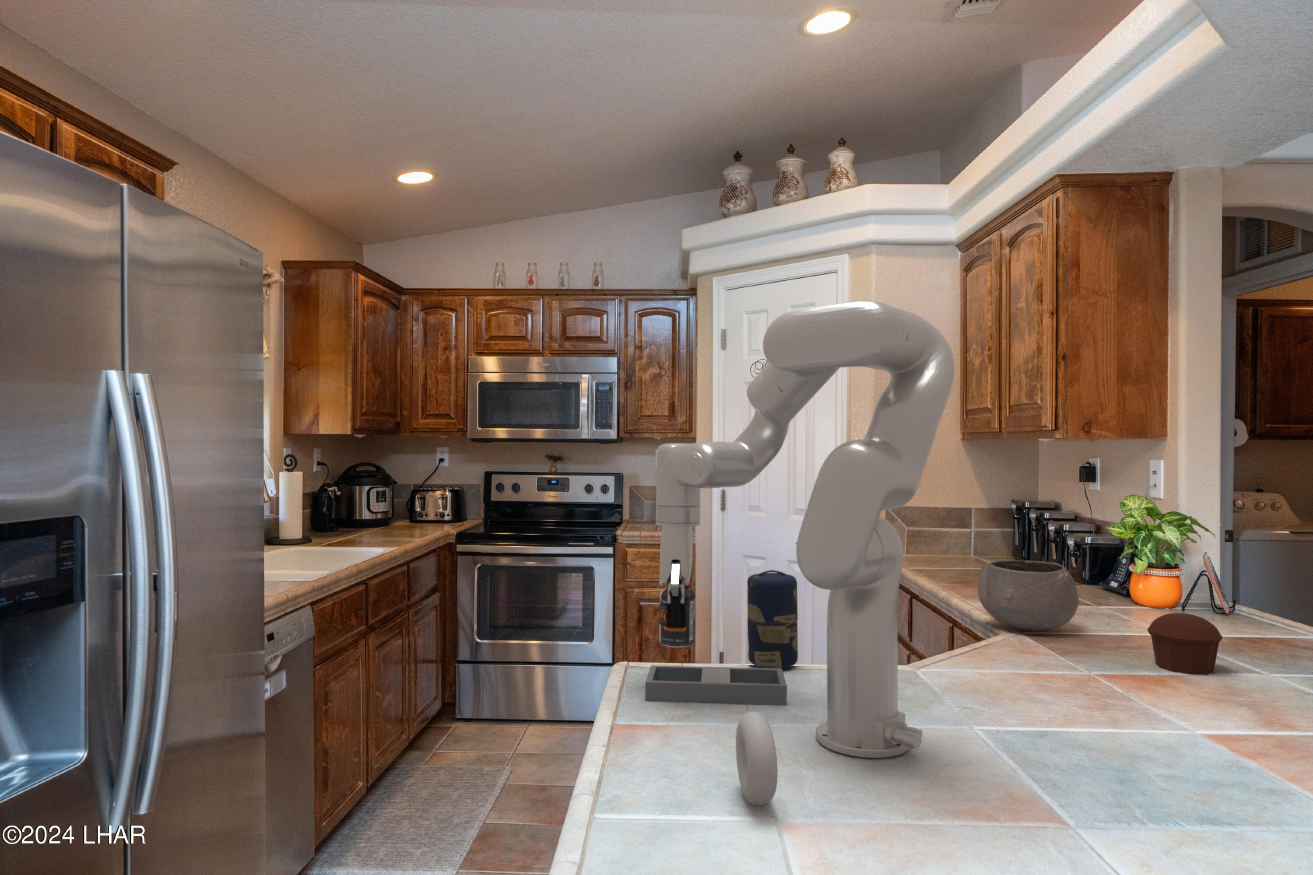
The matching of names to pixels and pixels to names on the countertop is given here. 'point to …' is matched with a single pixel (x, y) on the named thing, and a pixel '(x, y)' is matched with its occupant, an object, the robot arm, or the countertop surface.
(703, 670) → the frame
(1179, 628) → the muffin
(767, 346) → the robot arm
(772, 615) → the canister
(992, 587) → the clay pot
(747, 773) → the donut
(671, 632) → the pill bottle
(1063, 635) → the countertop surface
